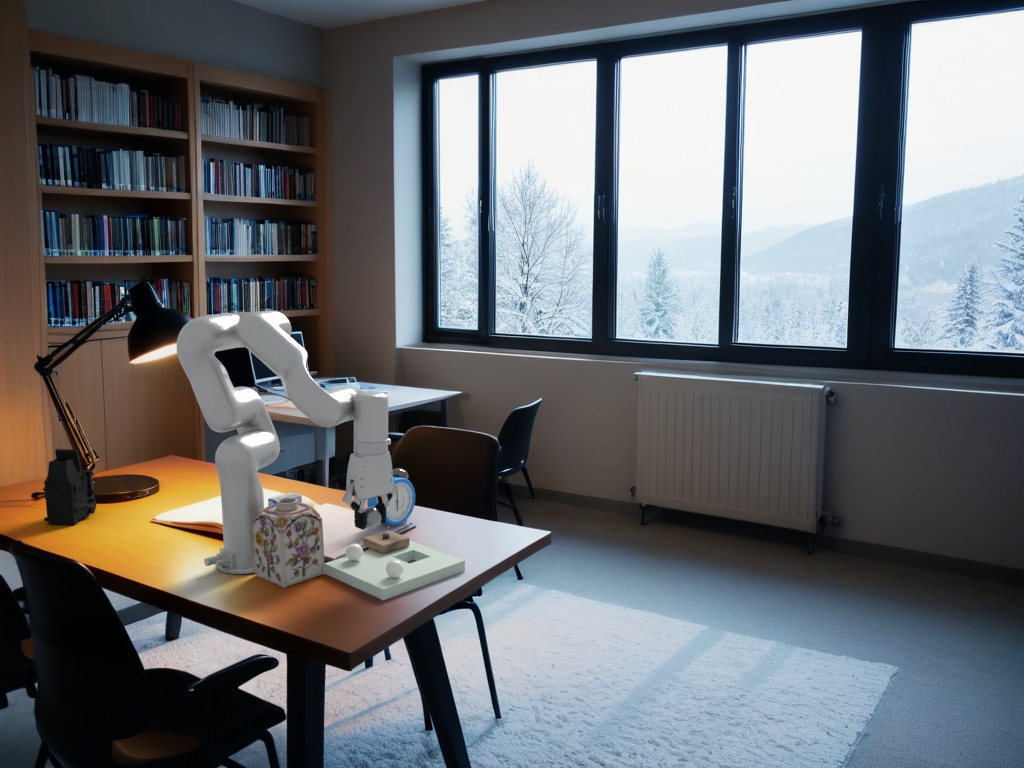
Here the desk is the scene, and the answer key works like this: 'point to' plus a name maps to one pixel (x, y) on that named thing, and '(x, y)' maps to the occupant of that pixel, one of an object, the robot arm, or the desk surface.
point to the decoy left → (354, 552)
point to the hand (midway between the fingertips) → (370, 524)
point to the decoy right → (394, 568)
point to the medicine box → (289, 495)
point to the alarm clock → (398, 499)
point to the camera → (68, 489)
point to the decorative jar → (288, 543)
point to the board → (424, 571)
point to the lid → (386, 541)
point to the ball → (372, 517)
